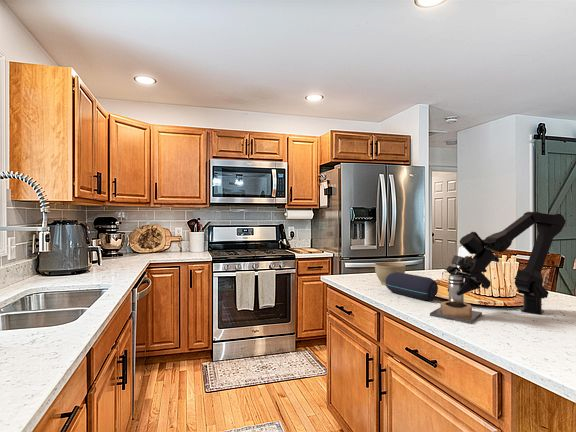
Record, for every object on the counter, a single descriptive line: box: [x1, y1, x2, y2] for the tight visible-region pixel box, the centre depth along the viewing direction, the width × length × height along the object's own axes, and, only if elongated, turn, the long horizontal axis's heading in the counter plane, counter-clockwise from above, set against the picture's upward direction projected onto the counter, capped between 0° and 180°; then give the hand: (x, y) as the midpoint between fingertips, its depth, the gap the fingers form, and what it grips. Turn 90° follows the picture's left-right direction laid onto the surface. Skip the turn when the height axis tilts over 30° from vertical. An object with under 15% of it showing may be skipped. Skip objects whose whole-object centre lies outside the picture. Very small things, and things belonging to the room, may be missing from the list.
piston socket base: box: [429, 300, 483, 324], centre depth 130 cm, size 14×14×4 cm
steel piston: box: [447, 274, 465, 307], centre depth 130 cm, size 5×5×13 cm
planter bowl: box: [374, 261, 407, 286], centre depth 187 cm, size 16×16×11 cm
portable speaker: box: [385, 272, 439, 301], centre depth 160 cm, size 25×10×10 cm, turn 31°
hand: (452, 293), depth 129 cm, fingers closed on steel piston, 5 cm apart
